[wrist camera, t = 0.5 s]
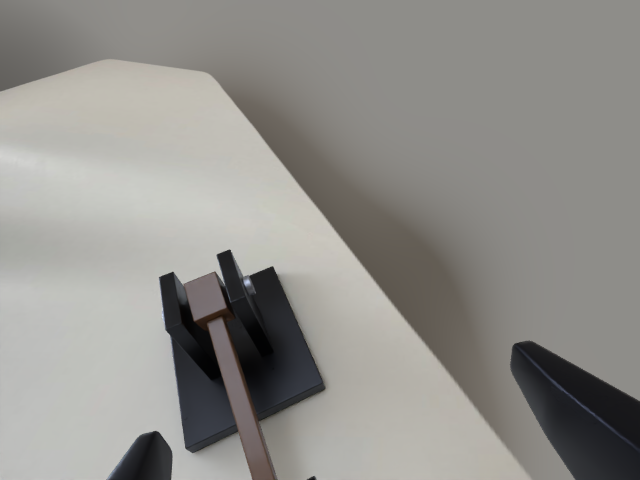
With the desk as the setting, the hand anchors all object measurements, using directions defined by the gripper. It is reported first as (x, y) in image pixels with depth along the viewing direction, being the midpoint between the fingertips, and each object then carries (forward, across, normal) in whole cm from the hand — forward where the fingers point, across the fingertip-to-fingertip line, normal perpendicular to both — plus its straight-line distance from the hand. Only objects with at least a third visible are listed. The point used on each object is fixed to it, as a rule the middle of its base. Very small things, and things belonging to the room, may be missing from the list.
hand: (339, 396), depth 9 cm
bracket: (+16, +8, +13) cm, 22 cm away
